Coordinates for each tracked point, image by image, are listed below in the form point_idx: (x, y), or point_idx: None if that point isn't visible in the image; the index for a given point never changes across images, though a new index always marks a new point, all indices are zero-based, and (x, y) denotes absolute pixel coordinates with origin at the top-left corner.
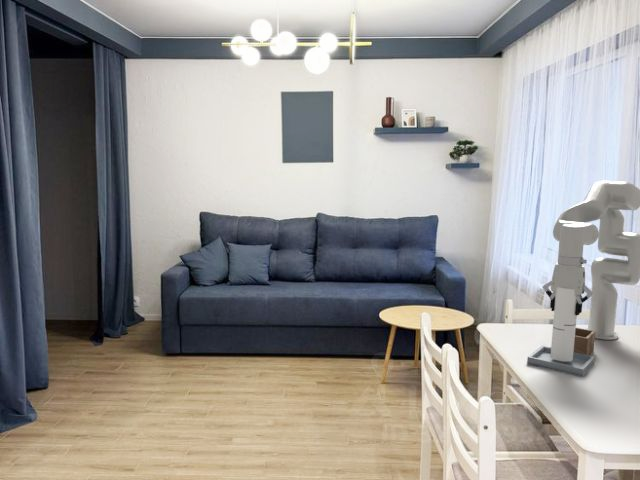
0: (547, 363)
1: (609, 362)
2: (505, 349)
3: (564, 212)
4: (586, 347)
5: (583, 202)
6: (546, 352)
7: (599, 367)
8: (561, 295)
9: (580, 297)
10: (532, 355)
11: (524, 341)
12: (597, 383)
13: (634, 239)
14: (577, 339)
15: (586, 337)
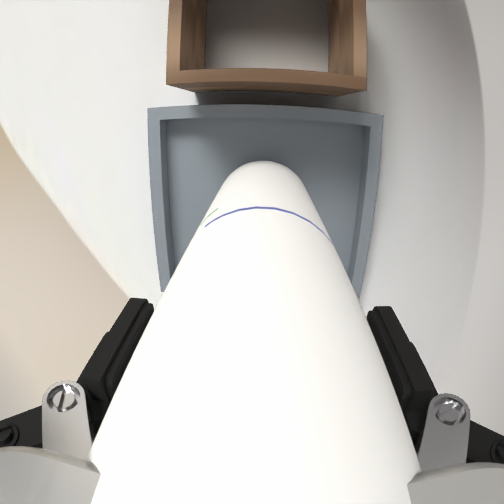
0: None
1: (414, 68)
2: (57, 179)
3: None
4: (350, 93)
5: None
6: (180, 125)
7: (394, 149)
8: None
9: (440, 463)
10: (166, 266)
11: (71, 36)
12: (392, 307)
13: None
14: (309, 85)
15: (356, 70)
